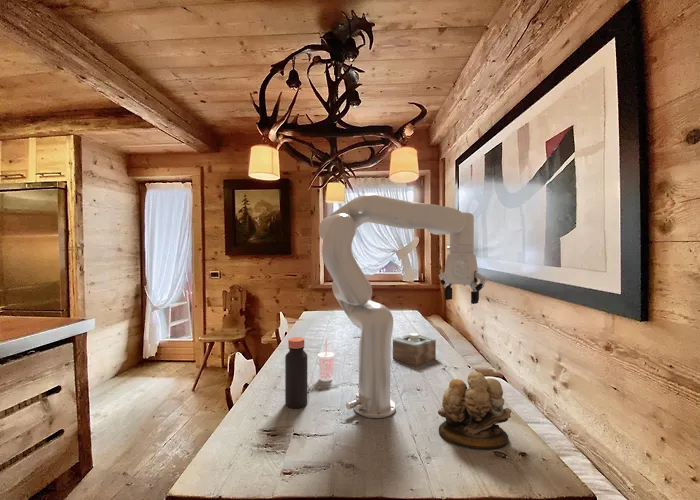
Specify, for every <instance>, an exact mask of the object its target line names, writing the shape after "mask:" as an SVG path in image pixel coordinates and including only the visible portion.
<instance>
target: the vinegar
mask: <svg viewBox="0 0 700 500" xmlns="http://www.w3.org/2000/svg"><path fill="white" fill-rule="evenodd" d="M287 344H288V346H287V347H288V350H289V351H288V352H287V353H286V354H285V358H284V361H285V363H284V364H285V369H284V371H285V372H284V374H285V375H284V377H285V378H284V379H285V380H284V381H285V382H284V383H285V385H284V386H285V387H284V388H285V390H284V391H285V392H284V393H285V394H284V396H285V397H284V399H285V403H284V404H285V406H286V407H287V408H288V409H295V410H296V409H302V408H303V407H306V406H307V404H308V354H307V352H305V350H304V348H305V338H304V337H299V336H295V337H291V338H288V343H287Z"/></svg>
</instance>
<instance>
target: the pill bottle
mask: <svg viewBox="0 0 700 500" xmlns="http://www.w3.org/2000/svg"><path fill="white" fill-rule="evenodd" d="M408 335H409V339H408V341H411V342H414V343H416V342H420V339H418V338H419V335H420V334H419V333H415V332H411V333H409V334H408Z"/></svg>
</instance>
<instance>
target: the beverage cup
mask: <svg viewBox="0 0 700 500" xmlns="http://www.w3.org/2000/svg"><path fill="white" fill-rule="evenodd" d="M327 342H328V341H327V340H325V351H321V352H319V353H317V358H318V367H319V370H318V372H319V380H320V381H321V382H330V381H332V380H333V375H334V374H333V373H334V358H335V353H334V352H331V351H328V349H327V348H328V347H327V346H328V343H327Z"/></svg>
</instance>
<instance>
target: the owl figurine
mask: <svg viewBox="0 0 700 500" xmlns="http://www.w3.org/2000/svg"><path fill="white" fill-rule="evenodd" d="M466 381H467V384H466V383H465V382H464V381H463V380H462V379H459V378H454V379H451V380H450V381H449V384H448V388H447V389H445V390H444V393H443V395H442V397H443V398H442V403H441V406H442V407H441V408H440V409H438V411H437V413H438V415H439V416H440V417H442V418H445V421H443V422H442V423H440V425H439V426H438V434H439V436H440V437H441V438H442V439H443V440H444V441H446V443H449V444H452V445H454V446H457V447H461V448H466V449H469V450H470V449H471V450H479V451H480V450H483V451H493V450H494V451H495V450H499V449H501V448H502V449H503V448H505V447H506V446H507V445H508V443H509V435H508V433H507V432H506V431H505V430H504V429H503V428H501V426H500V425H499V424H503V423H506V422H508V420H509V419H510V418H511V417H512V415H511V414H512V413H513V411H512V410H511V408H509V407H505V408H504V404H505V399H504V397H503V395H504V390H503V387H502V384H501V382H500V381H499V380H497V379H495V378H491V377H490V378H489V377H488V378H486V377H485V376H484V375H483V374H482V373H481V372H478V370H477V371H476V370H474V371H471V372H469V373H468V375H467V380H466ZM467 385H468V386H467Z"/></svg>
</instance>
